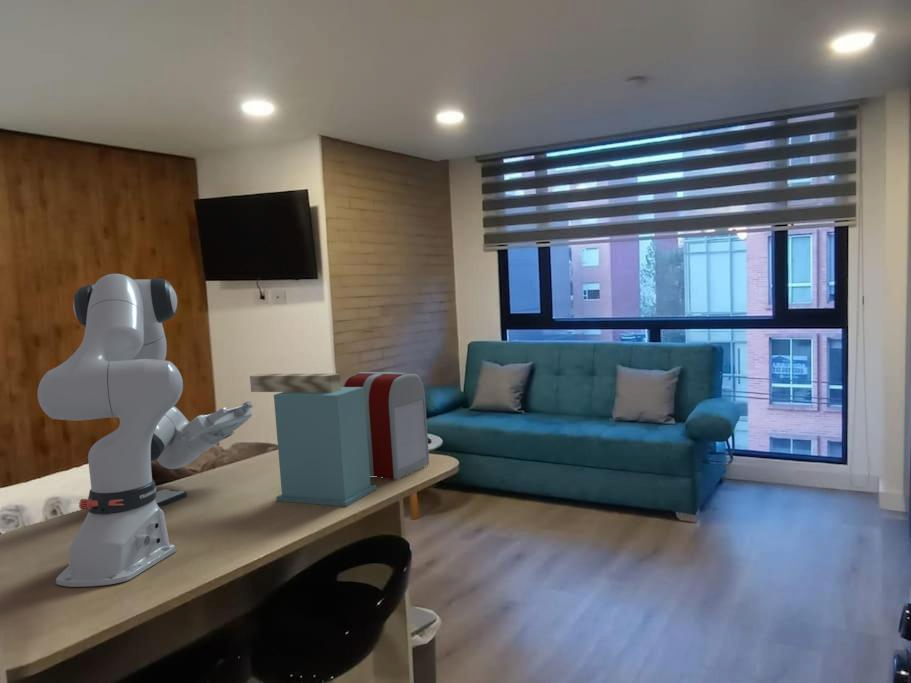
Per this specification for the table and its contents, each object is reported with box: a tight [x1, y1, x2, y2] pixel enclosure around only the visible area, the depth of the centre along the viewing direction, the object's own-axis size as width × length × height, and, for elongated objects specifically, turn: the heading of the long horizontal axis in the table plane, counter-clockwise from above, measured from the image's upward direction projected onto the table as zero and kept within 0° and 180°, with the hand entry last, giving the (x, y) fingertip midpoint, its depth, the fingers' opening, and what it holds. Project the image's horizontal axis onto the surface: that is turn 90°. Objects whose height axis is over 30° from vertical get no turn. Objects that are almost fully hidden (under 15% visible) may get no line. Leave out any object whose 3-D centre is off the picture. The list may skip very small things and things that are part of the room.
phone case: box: [155, 488, 188, 508], centre depth 176 cm, size 9×2×16 cm
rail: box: [249, 373, 342, 393], centre depth 175 cm, size 24×4×4 cm, turn 67°
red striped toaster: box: [342, 371, 430, 480], centre depth 195 cm, size 16×18×27 cm
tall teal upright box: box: [273, 386, 377, 507], centre depth 174 cm, size 20×14×26 cm
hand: (237, 407), depth 183 cm, fingers open, 8 cm apart
